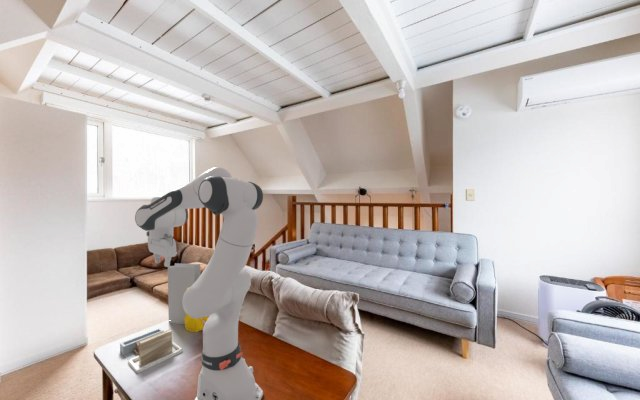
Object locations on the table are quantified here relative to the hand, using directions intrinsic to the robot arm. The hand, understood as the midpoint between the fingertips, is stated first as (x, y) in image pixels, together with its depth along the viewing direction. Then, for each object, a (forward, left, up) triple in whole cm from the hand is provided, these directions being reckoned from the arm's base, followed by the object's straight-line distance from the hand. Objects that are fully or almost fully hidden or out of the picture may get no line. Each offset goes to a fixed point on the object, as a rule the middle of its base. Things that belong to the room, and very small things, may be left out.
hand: (162, 264), depth 110 cm
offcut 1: (0, +6, -35) cm, 35 cm away
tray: (-9, +6, -36) cm, 37 cm away
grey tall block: (+12, -15, -36) cm, 41 cm away
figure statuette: (0, -14, -36) cm, 38 cm away
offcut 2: (0, +6, -32) cm, 33 cm away
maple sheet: (-9, +6, -35) cm, 37 cm away
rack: (+2, +6, -36) cm, 36 cm away
